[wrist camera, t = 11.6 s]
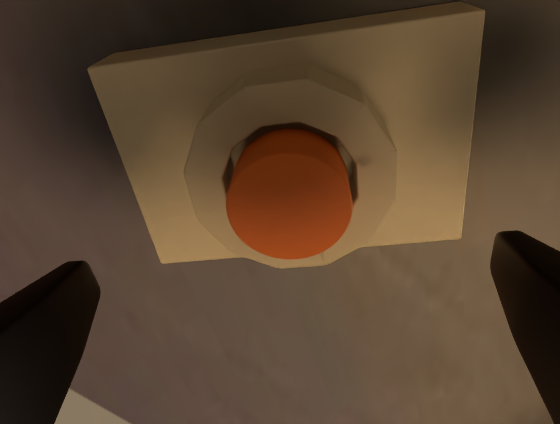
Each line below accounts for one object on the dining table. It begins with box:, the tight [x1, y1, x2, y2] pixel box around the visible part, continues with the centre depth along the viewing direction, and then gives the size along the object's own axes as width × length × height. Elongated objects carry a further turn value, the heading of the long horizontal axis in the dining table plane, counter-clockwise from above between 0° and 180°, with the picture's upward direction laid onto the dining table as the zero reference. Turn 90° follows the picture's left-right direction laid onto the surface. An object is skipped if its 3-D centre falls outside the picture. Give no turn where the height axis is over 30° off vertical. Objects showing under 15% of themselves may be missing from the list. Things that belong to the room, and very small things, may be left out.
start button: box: [226, 128, 353, 260], centre depth 12 cm, size 4×4×2 cm
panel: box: [87, 1, 485, 269], centre depth 15 cm, size 12×8×4 cm, turn 98°
